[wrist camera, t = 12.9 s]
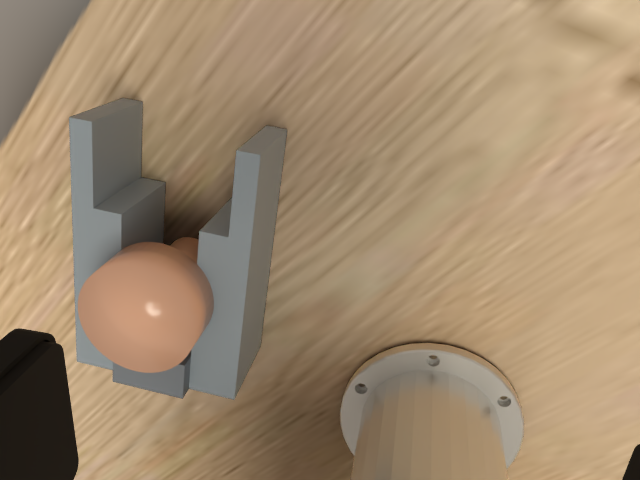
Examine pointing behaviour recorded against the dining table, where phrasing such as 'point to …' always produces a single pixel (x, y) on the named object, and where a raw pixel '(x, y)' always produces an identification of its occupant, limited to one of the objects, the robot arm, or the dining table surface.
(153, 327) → the peg
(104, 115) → the grey slotted stand
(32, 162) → the dining table surface
